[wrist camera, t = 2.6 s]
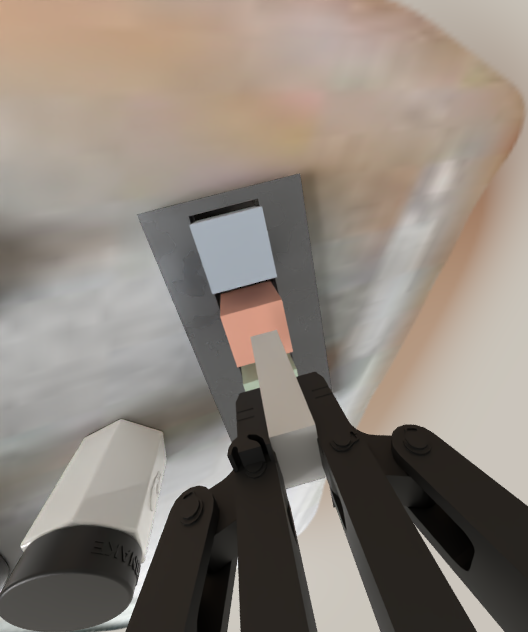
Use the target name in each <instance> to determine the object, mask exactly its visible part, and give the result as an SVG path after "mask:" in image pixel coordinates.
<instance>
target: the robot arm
mask: <svg viewBox="0 0 528 632" xmlns="http://www.w3.org/2000/svg"><path fill="white" fill-rule="evenodd" d="M250 338H251V343H252V348H253V354H254V359H255V364H256V370H257V375H258V381H259V386H260V388H257V389H253V390H250V391H246V392H242V393H240V394H239V396H238V398H237V401H236V421H237V438H235V439H234V440H233V442H232V443H231V445H230V447H229V449H228V455H227V456H228V458H229V461H230V463H231V465H232V467H233V471H232V472H231V473H230V474H229V475H228V476H227V477H226V478H225V479H224V480H222V481H221V482H219V483H218V484H216V485H215V486H213V487H212V488H210V489H207V488H206V487H203V486H196V487H192V488H190V489H188V490H186V491H185V492H183V493H182V494H181V495H180V497H179V498H178V499H177V500H176V501H175V503H174V505H173V507H172V509H171V511H170V513H169V516H168V519H167V521H166V524H165V527H164V529H163V532H162V535H161V538H160V540H159V543H158V546H157V548H156V551H155V554H154V556H153V559H152V562H151V564H150V567H149V570H148V573H147V575H146V578H145V581H144V583H143V586H142V589H141V591H140V594H139V597H138V599H137V602H136V605H135V608H134V610H133V613H132V616H131V618H130V621H129V624H128V626H127V629H126V632H227V629H228V621H229V614H230V607H231V600H232V593H233V586H234V579H235V572H236V565H237V558H238V573H239V600H240V625H241V626H240V628H241V632H317V628H316V623H315V619H314V614H313V609H312V605H311V600H310V595H309V591H308V586H307V581H306V577H305V572H304V568H303V563H302V558H301V554H300V549H299V545H298V540H297V535H296V531H295V526H294V521H293V517H292V512H291V508H290V504H289V501H288V498H287V493H286V489H288V488H291V487H294V486H298V485H301V484H305V483H308V482H312V481H315V480H318V479H322V478H325V477H326V478H327V480H328V483H329V485H330V490H331V496H332V501H333V507H336V509H337V512H338V515H339V517H340V520H341V523H342V526H343V529H344V531H345V534H346V537H347V540H348V543H349V545H350V548H351V551H352V553H353V556H354V559H355V562H356V565H357V568H358V570H359V573H360V576H361V579H362V581H363V584H364V587H365V590H366V592H367V595H368V598H369V601H370V603H371V606H372V609H373V612H374V614H375V617H376V620H377V623H378V626H379V629H380V631H381V632H477V631H476V629H475V628H474V626H473V624H472V622H471V621H470V619H469V617H468V616H467V614H466V612H465V611H464V609H463V607H462V606H461V604H460V602H459V600H458V599H457V597H456V595H455V594H454V592H453V590H452V589H451V587H450V585H449V583H448V581H447V580H446V578H445V576H444V575H443V573H442V571H441V570H440V568H439V566H438V564H437V563H436V561H435V559H434V558H433V556H432V554H431V553H430V551H429V549H428V547H427V546H426V544H425V542H424V541H423V539H422V537H421V536H420V534H419V532H418V530H417V529H416V527H417V528H418V529H419V530H420V531H421V533H422V534H423V535H424V536H425V537H426V538H427V540H428V541H429V542H430V543H431V545H432V546H433V547H434V548H435V549H436V550H437V552H438V553H439V554H440V555H441V556H442V558H443V559H444V560H445V561H446V562H447V564H448V565H449V566H450V567H451V568H452V570H453V571H454V572H455V573H456V574H457V576H458V577H459V578H460V579H461V580H462V581H463V583H464V584H465V585H466V586H467V587H468V588H469V590H470V591H471V592H472V593H473V595H474V596H475V597H476V598H477V599H478V600H479V602H480V603H481V604H482V605H483V606H484V607H485V609H486V610H487V611H488V612H489V614H490V615H491V616H492V617H493V618H494V620H495V621H496V622H497V623H498V624H499V626H500V627H501V628H502V629H503V630H504V632H528V506H527V505H525V504H524V503H523V502H522V501H520V500H519V499H518V498H516V497H515V496H514V495H513V494H511V493H510V492H509V491H507V490H506V489H505V488H504V487H502V486H501V485H500V484H498V483H497V482H496V481H495V480H493V479H492V478H491V477H489V476H488V475H487V474H485V473H484V472H483V471H482V470H480V469H479V468H478V467H477V466H475V465H474V464H472V463H471V462H470V461H469V460H467V459H466V458H465V457H464V456H462V455H461V454H460V453H458V452H457V451H456V450H454V449H453V448H452V447H451V446H449V445H448V444H447V443H446V442H444V441H443V440H442V439H440V438H439V437H438V436H437V435H435V434H434V433H432V432H431V431H429V430H427V429H426V428H424V427H420V426H417V425H403V426H400V427H397V428H396V429H395V430H394V431H393V433H392V436H384V435H381V436H380V435H369V434H366V433H363V432H360V431H359V430H357V429H355V428H354V427H353V426H352V425H351V424H350V422H349V421H348V419H347V418H346V416H345V414H344V412H343V411H342V409H341V407H340V405H339V404H338V402H337V400H336V398H335V397H334V395H333V393H332V391H331V389H330V388H329V386H328V384H327V382H326V381H325V379H324V377H322V376H321V375H320V374H318V373H317V372H311V373H308V374H304V375H301V376H297V377H296V376H295V373H294V371H293V369H292V366H291V364H290V361H289V359H288V356H287V354H286V351H285V349H284V346H283V344H282V342H281V339H280V337H279V334H278V332H277V330H274V331H270V332H267V333H263V334H259V335H256V336H252V337H250ZM325 475H326V476H325ZM413 523H414V524H415V525H416V527H415V525H414V524H413ZM8 575H9V568H8V565H7V563H6V562H5V561H4V559H3V558H2V557H1V556H0V590H1V589H2V587H3V585H4V583H5V582H6V580H7V578H8Z"/></svg>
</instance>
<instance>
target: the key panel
mask: <svg viewBox="0 0 528 632" xmlns="http://www.w3.org/2000/svg"><path fill="white" fill-rule="evenodd" d="M251 200H253V201H254V206H262V208H263V213H264V218H265V222H266V227H267V232H268V236H269V241H270V246H271V251H272V255H273V260H274V265H275V269H276V274H277V277H275V278H272V279H271V281H272V285H273V286H274V288H275V289H276V291H277V293H278V294H279V296H280V297H281V299H282V302H283V307H284V312H285V316H286V321H287V326H288V330H289V335H290V340H291V344H292V349H293V352H290V355H291V357H292V360H293V362H294V364H295V366H296V368H297V373H298V376H301V375H304V374H308V373H311V372H317V373H318V374H320V375H321V376H322V377H324V379H325V381H326V382H327V384H328V386H329V388H330V389H331V382H330V376H329V369H328V362H327V355H326V348H325V341H324V334H323V328H322V321H321V314H320V307H319V300H318V293H317V287H316V280H315V273H314V266H313V259H312V252H311V245H310V239H309V232H308V225H307V218H306V211H305V204H304V197H303V191H302V184H301V177H300V174H296V175H292V176H288V177H284V178H280V179H276V180H272V181H268V182H264V183H260V184H256V185H252V186H248V187H244V188H240V189H236V190H232V191H228V192H224V193H220V194H216V195H212V196H208V197H205V198H201V199H197V200H193V201H189V202H185V203H181V204H177V205H173V206H169V207H165V208H161V209H157V210H153V211H149V212H145V213H141V214H137V216H138V218H139V221H140V223H141V225H142V228H143V230H144V233H145V235H146V237H147V240H148V242H149V245H150V247H151V249H152V252H153V254H154V257H155V259H156V261H157V264H158V266H159V269H160V271H161V273H162V276H163V278H164V281H165V283H166V285H167V288H168V290H169V293H170V295H171V297H172V300H173V302H174V305H175V307H176V309H177V312H178V314H179V317H180V319H181V321H182V324H183V326H184V329H185V331H186V333H187V336H188V338H189V341H190V343H191V345H192V348H193V350H194V353H195V355H196V357H197V360H198V362H199V365H200V367H201V369H202V372H203V374H204V377H205V379H206V381H207V384H208V386H209V389H210V391H211V393H212V396H213V398H214V401H215V403H216V405H217V408H218V410H219V413H220V415H221V417H222V420H223V422H224V425H225V427H226V429H227V432H228V434H229V437H230V439H231V441H232V442H233V440H234V439H235V438H237V421H236V401H237V398H238V396H239V394H240V393H242V392H245V389H244V386H243V380H242V371H241V367H238V368H237V365H236V362H235V359H234V356H233V353H232V350H231V347H230V344H229V341H228V338H227V335H226V333H225V330H224V327H223V324H222V321H221V318H220V299H221V298H220V295H219V293H216V294H212V291H211V288H210V285H209V282H208V279H207V276H206V273H205V271H204V268H203V265H202V262H201V259H200V256H199V253H198V250H197V247H196V244H195V241H194V238H193V235H192V232H191V229H190V226H189V225H190V224H192V223H194V222H195V219H194V216H193V215H196V214H200V213H204V212H208V211H211V210H215V209H219V208H223V207H227V206H231V205H235V204H239V203H243V202H247V201H251ZM331 391H332V389H331Z"/></svg>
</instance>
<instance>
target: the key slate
mask: <svg viewBox="0 0 528 632" xmlns="http://www.w3.org/2000/svg"><path fill="white" fill-rule="evenodd" d="M189 226H190V229H191V232H192V235H193V238H194V241H195V244H196V247H197V250H198V253H199V256H200V259H201V262H202V265H203V268H204V271H205V273H206V276H207V279H208V282H209V285H210V288H211V291H212V294H216V293H220V292H223V291H227V290H231V289H234V288H238V287H242V286H246V285H249V284H253V283H257V282H260V281H264V280H268V279H272V278H275V277H277V274H276V269H275V265H274V260H273V255H272V251H271V246H270V241H269V236H268V232H267V227H266V222H265V218H264V213H263V208H262V206H252V207H248V208H245V209H241V210H237V211H233V212H229V213H225V214H221V215H217V216H213V217H209V218H205V219H202V220H198V221H196V222H194V223H192V224H190V225H189Z"/></svg>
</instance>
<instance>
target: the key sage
mask: <svg viewBox="0 0 528 632" xmlns="http://www.w3.org/2000/svg"><path fill="white" fill-rule="evenodd" d="M287 356H288V359H289V361H290V364H291V366H292V369H293V371H294V373H295V376H296V377H297V376H298V373H297V368H296V366H295V364H294V362H293V360H292V357H291V355H290V353H287ZM241 371H242V380H243V386H244V389H245V392H246V391H250V390H253V389H257V388H260V386H259V381H258V375H257V370H256V364H255V363H252V364H248V365H245V366H241Z"/></svg>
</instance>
